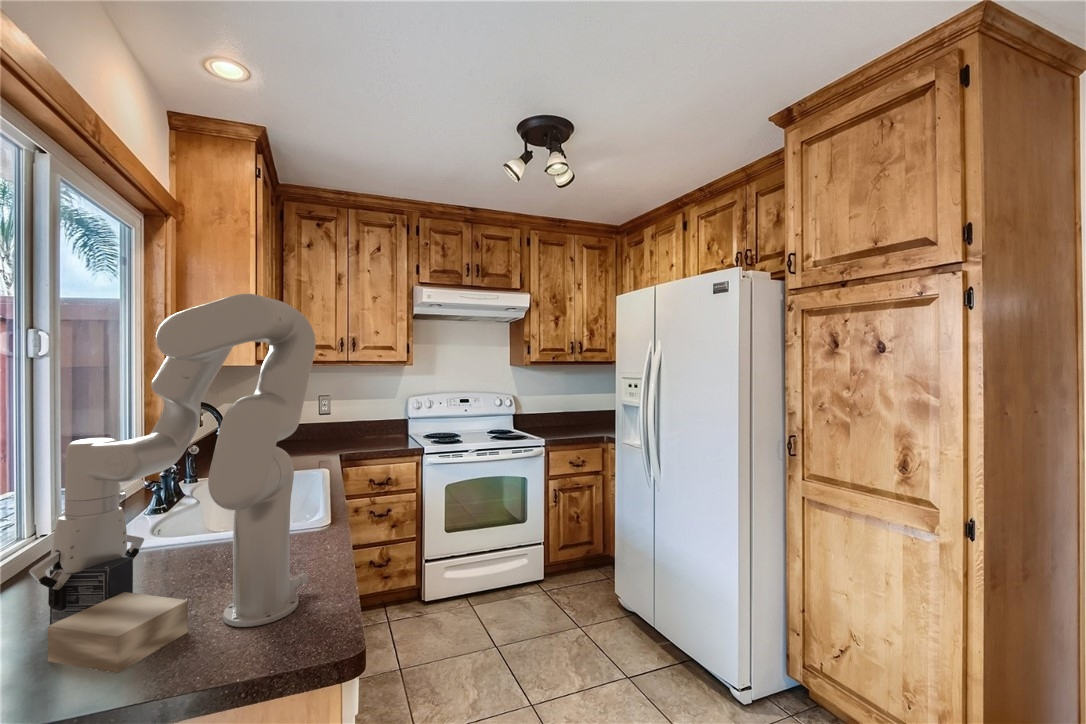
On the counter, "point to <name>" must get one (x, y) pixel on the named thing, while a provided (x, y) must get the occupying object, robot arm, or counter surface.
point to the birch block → (117, 631)
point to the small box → (95, 586)
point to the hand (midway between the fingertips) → (90, 597)
